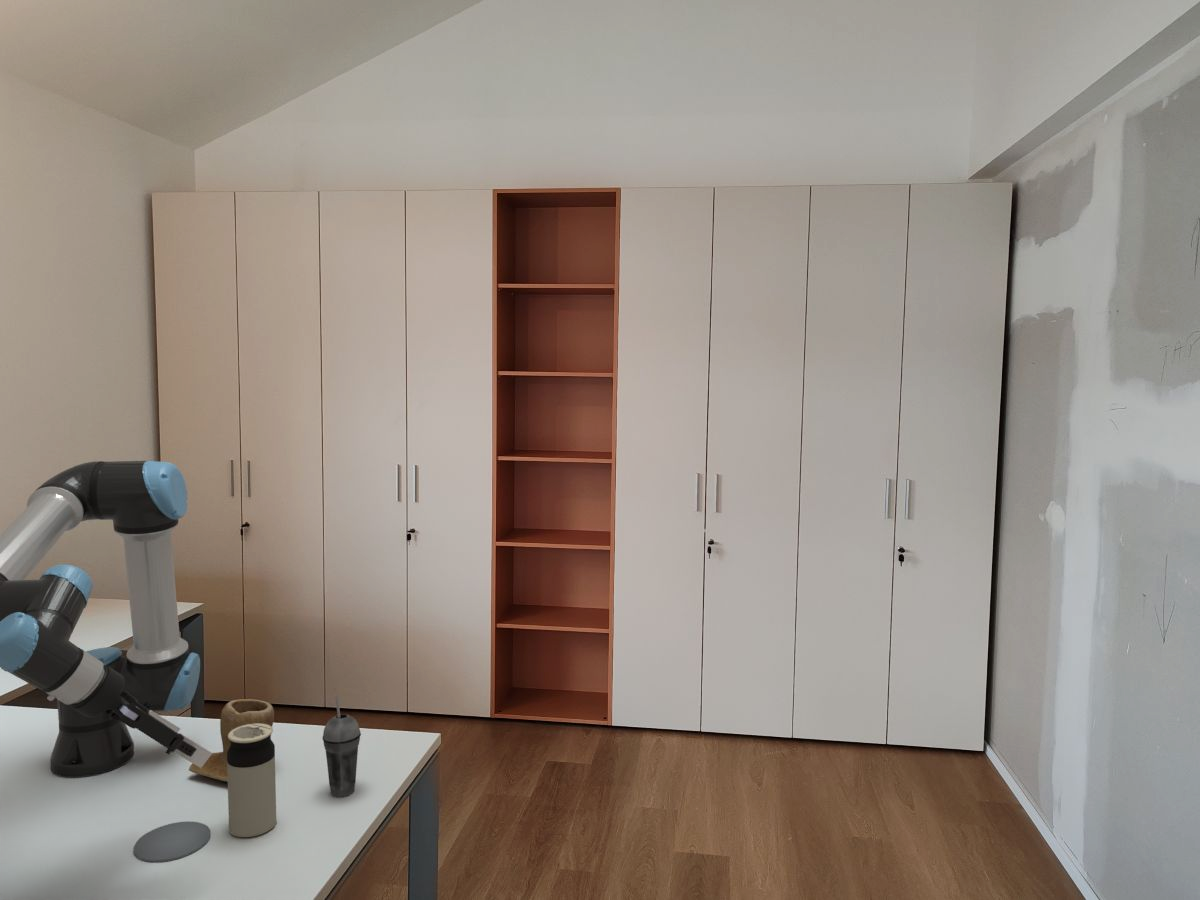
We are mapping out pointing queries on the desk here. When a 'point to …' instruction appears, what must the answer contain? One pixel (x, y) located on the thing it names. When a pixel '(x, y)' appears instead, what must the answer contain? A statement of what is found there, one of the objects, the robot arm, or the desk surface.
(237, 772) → the travel mug
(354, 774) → the beverage cup
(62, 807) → the desk surface
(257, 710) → the stone cup
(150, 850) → the mat
